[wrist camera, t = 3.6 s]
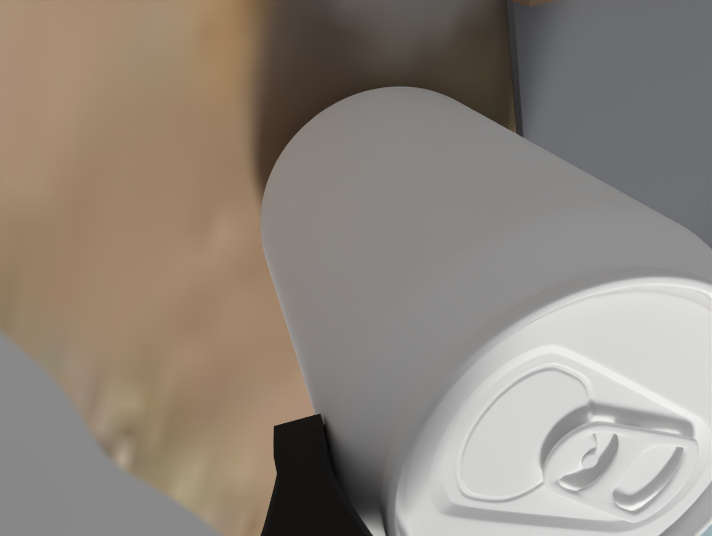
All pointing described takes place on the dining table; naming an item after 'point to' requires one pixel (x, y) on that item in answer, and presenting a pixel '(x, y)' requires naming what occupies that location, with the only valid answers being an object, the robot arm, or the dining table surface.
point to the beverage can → (490, 328)
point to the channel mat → (621, 95)
